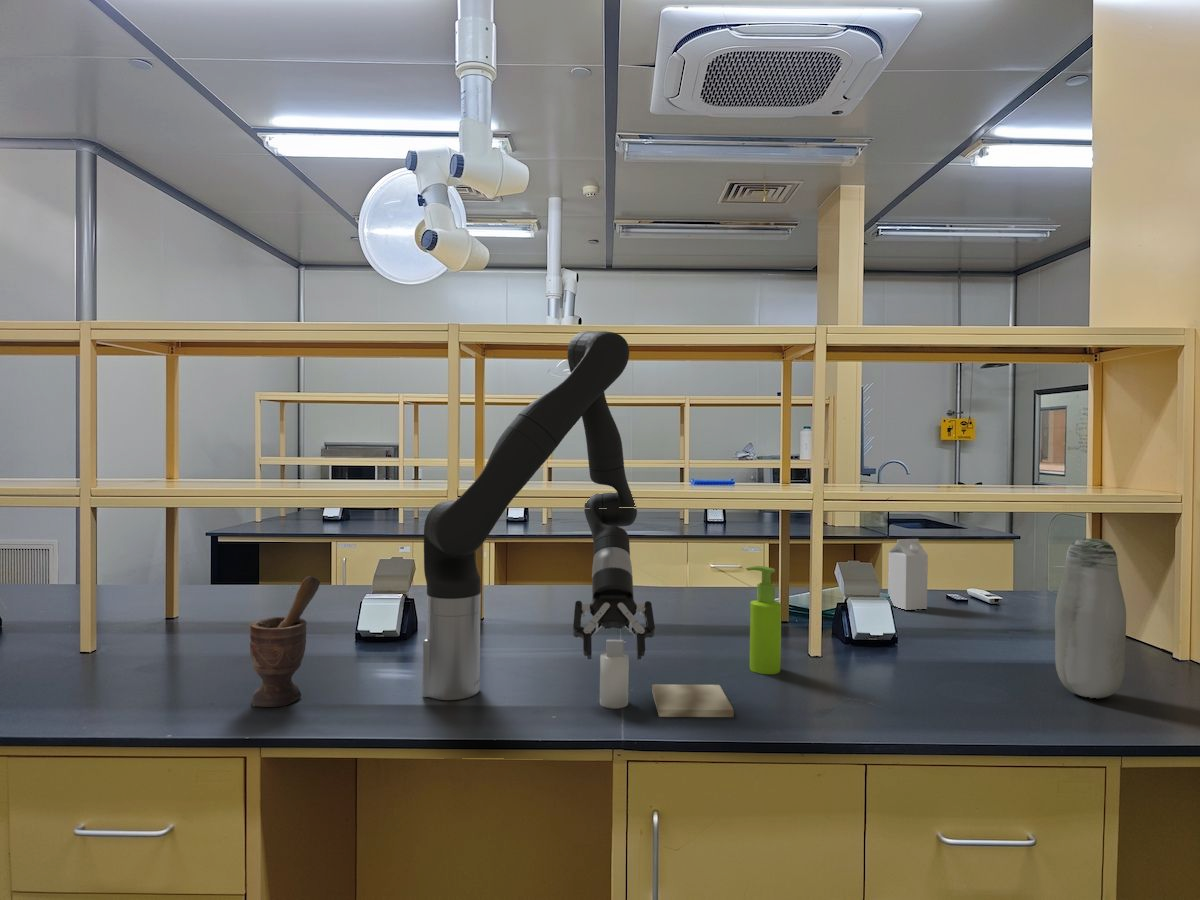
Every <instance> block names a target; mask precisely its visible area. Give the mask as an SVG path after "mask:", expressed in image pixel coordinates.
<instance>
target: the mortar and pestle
mask: <svg viewBox="0 0 1200 900" xmlns="http://www.w3.org/2000/svg"><path fill="white" fill-rule="evenodd" d="M320 584H321V581H320V579H319V578H317V577H314V576H311V575H308V576H306V577H305V578H304V579H303V581H302V582H301V583H300V586H299V588H298V590H297V593H296V595H295V598H294V600H293V602H292V605H291V607H290V609H289V611H288V613H287V615H286V616H280V617H279V616H277V617H276V616H275V617H274V616H273V617H267V618H262V619H259V620H255V621H253V622H251V623H249V627H250V629H249V637H250V642H249V645H250V647H249V648H250V649H249V652H250V658H251V660H252V662H253V670H254V671H255V673H256V674H257V675H258V676H259V678H260V679H261V680H262V684H261V685H260V687H259V688H256V689H255V690H254V693H253V694H252V698H251V699H252V700H251V703H252V707H260V708H261V707H263V708H264V707H265V708H275V707H277V708H278V707H282V706H283V707H284V706H288V705H289V704H292V703H295V702H297V701H298V700H299V699H300V698H301V697H302V693H301V690H300V688H299V686H298V685H297V684H296V683H294V682H293V681H292V678H293V675H294V674H295V673H296V671H298V670H299V669H300V667H301V665H302V660H303V659H304V656H305V652H306V645H307V624H308V623H307V620H306V619H304V618H301V616H302V615H303V613H304V611H305V610H306V608H307V606H308V605H309V603H310V602H311V601H312V600H313V598H314V597H315V596H316V593H317V592H318V590H319V587H320Z"/></svg>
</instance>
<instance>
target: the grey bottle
mask: <svg viewBox="0 0 1200 900" xmlns="http://www.w3.org/2000/svg"><path fill="white" fill-rule="evenodd" d="M1118 564H1119V563H1118V556H1117V552H1116V550H1115V549H1114V547H1113V546H1112V545H1111V543H1109V542H1107V541H1106V540H1103V539H1099V538H1080V539H1078V540H1075V541H1074V542H1073V543H1071V544H1070V545H1069V547H1068V548H1067V551H1066V556H1065V566H1064V571H1063V575H1062V579H1061V583H1060V585H1059V588H1058V592H1057V594H1056V599H1055V605H1054V606H1055V608H1054V612H1055V613H1054V631H1055V632H1054V636H1055V637H1054V641H1055V642H1054V645H1055V647H1054V656H1055V657H1054V659H1055V660H1054V661H1055V669H1056V673H1057V675H1058V678H1059V681H1060V682H1061V683H1062V685H1063V686H1064V687H1065V688H1066V690H1068V691H1070V693H1072V694H1074V695H1077V696H1081V697H1084V698H1087V697H1089V698H1088V699H1093V698H1096V699H1104V698H1107V697H1110V696H1112V695H1113V694H1115V693H1116V692H1117V691H1118V690H1119V688H1120V687H1121V685H1122V683H1123V680H1124V675H1125V666H1126V665H1125V663H1126V662H1125V661H1126V660H1125V659H1126V638H1127V637H1126V636H1127V609H1126V602H1125V598H1124V594H1123V590H1122V585H1121V582H1120V576H1119V567H1118V566H1119V565H1118Z"/></svg>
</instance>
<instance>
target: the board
mask: <svg viewBox="0 0 1200 900" xmlns="http://www.w3.org/2000/svg"><path fill="white" fill-rule="evenodd" d="M651 692H652V697H653V700H654V703H655V708H656V712H657V714H658V717H659V718H734V715H735V714H734V711H735V710H734V708H733V706H732V705H731V702H730V701H729V699H728V697H727V696H726V694H725V692H724V690H723V689H722V687H721V685H720V684H664V683H663V684H662V683H661V684H660V683H659V684H658V683H656V684H651Z"/></svg>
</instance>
